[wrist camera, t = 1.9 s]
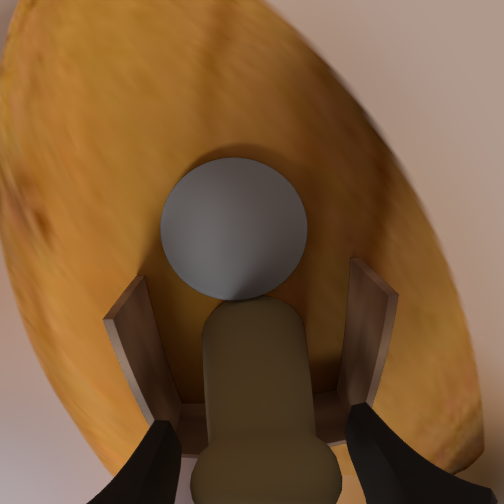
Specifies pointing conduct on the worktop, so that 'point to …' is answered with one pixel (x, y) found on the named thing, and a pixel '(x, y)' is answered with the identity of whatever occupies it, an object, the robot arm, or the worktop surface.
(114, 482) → the robot arm
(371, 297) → the open wooden enclosure
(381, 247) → the worktop surface
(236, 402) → the pepper mill
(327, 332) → the worktop surface
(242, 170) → the coaster
